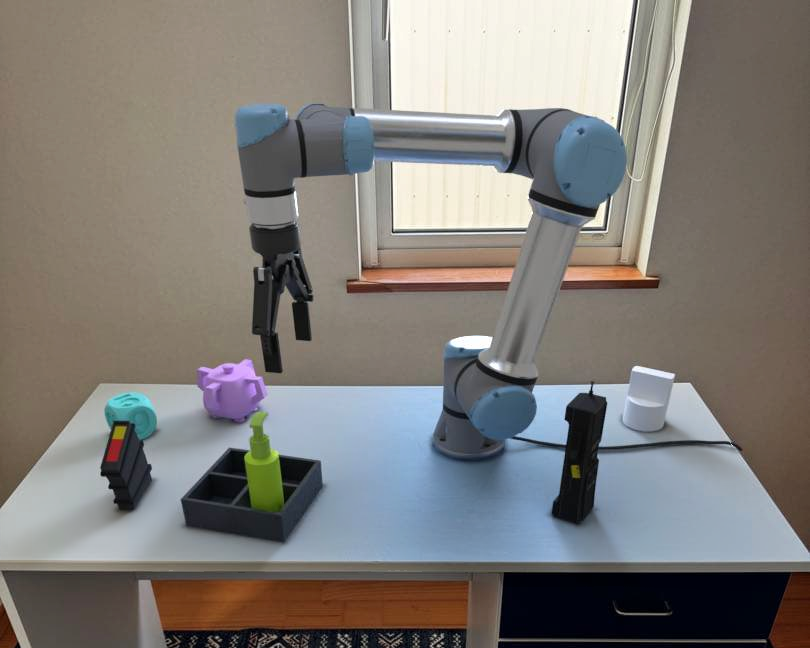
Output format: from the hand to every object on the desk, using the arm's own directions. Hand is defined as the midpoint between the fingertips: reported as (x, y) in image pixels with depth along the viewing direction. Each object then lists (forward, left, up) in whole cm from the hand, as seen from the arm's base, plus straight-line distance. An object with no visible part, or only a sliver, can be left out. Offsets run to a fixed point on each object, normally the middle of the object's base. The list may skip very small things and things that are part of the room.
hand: (289, 355), depth 127 cm
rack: (+8, +4, -30) cm, 31 cm away
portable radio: (-50, -9, -30) cm, 59 cm away
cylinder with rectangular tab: (-62, -50, -30) cm, 85 cm away
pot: (+29, -30, -30) cm, 52 cm away
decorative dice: (+46, -15, -30) cm, 57 cm away
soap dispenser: (+3, +8, -29) cm, 30 cm away
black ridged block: (+32, +8, -30) cm, 44 cm away
